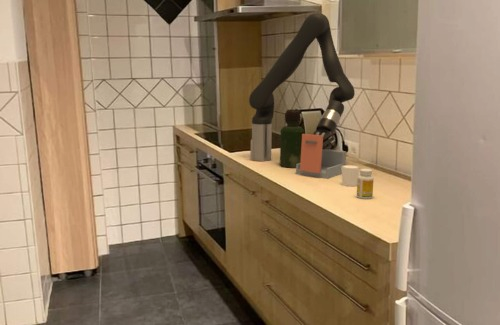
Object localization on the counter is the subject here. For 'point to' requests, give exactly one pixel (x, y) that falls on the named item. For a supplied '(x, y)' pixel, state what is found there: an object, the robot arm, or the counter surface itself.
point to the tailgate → (311, 153)
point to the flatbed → (328, 164)
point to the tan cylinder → (350, 175)
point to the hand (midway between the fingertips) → (312, 155)
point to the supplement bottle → (365, 184)
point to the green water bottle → (291, 140)
